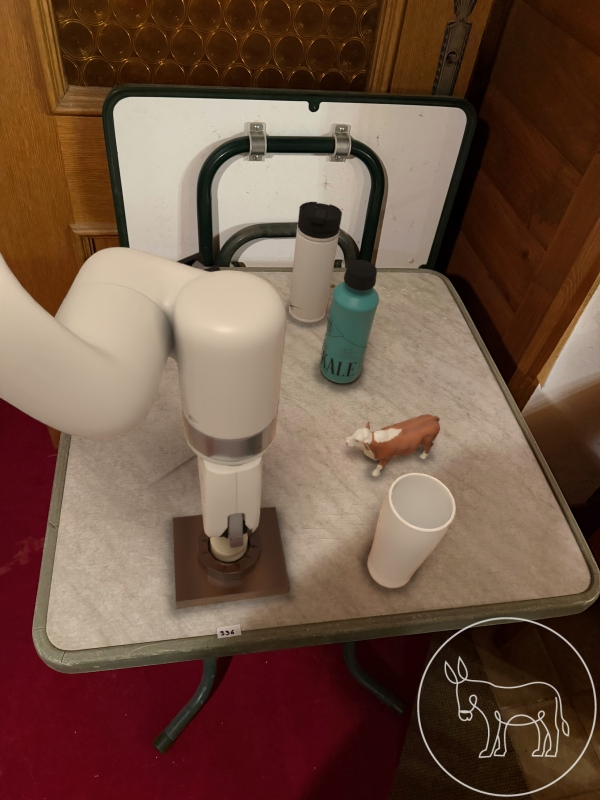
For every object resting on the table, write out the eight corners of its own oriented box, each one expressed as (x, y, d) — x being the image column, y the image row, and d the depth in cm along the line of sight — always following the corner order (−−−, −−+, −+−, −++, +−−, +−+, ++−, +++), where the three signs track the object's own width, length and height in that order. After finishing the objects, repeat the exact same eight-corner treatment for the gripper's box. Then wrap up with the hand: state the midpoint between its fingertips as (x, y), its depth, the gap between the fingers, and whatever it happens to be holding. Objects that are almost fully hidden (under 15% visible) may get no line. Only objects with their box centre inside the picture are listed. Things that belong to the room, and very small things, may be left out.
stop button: (212, 564, 60) (211, 557, 58) (209, 530, 62) (208, 523, 61) (249, 559, 60) (249, 552, 59) (245, 526, 63) (245, 519, 62)
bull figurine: (335, 461, 75) (344, 422, 69) (421, 438, 79) (437, 400, 73) (348, 487, 72) (359, 450, 66) (437, 462, 76) (455, 425, 70)
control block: (177, 610, 60) (174, 595, 57) (173, 526, 66) (171, 509, 63) (287, 595, 62) (290, 579, 59) (274, 515, 68) (276, 498, 65)
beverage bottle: (350, 358, 88) (375, 249, 74) (366, 388, 84) (396, 279, 69) (311, 364, 87) (329, 253, 72) (325, 395, 83) (347, 285, 68)
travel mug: (284, 325, 92) (295, 214, 77) (291, 300, 96) (303, 192, 82) (321, 332, 92) (340, 222, 77) (327, 307, 96) (345, 199, 81)
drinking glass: (350, 552, 66) (375, 482, 55) (399, 534, 68) (433, 463, 57) (377, 605, 62) (410, 541, 51) (428, 584, 64) (470, 518, 53)
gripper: (179, 355, 49) (190, 473, 63) (187, 502, 40) (199, 603, 53) (264, 350, 51) (257, 467, 64) (292, 491, 41) (276, 592, 55)
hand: (230, 528), depth 59 cm, fingers closed
